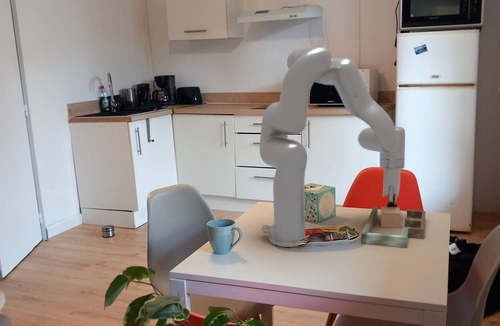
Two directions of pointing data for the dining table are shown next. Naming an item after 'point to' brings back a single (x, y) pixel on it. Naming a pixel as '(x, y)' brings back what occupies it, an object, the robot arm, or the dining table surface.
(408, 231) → the box
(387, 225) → the block
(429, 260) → the dining table surface
